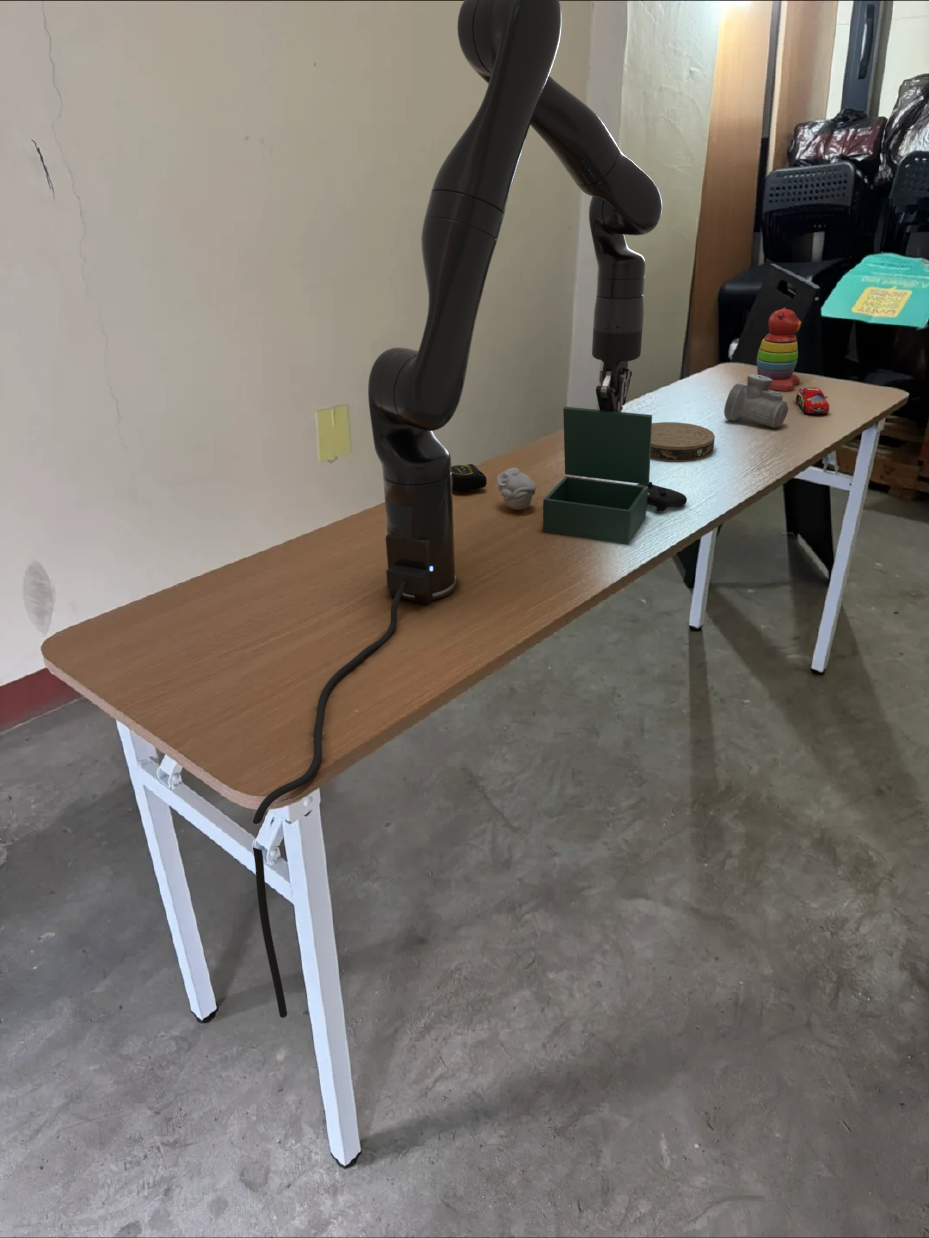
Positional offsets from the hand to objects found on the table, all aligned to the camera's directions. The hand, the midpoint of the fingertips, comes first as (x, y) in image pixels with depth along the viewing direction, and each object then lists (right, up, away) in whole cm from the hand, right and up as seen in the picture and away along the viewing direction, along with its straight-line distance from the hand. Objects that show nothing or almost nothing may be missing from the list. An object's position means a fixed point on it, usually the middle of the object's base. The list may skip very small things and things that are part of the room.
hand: (611, 435), depth 141 cm
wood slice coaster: (+18, +4, +32) cm, 37 cm away
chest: (-3, -15, +1) cm, 15 cm away
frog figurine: (-15, -11, +8) cm, 20 cm away
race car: (+54, +17, +54) cm, 78 cm away
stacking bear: (+53, +28, +72) cm, 93 cm away
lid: (-1, -2, -2) cm, 3 cm away
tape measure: (-23, -6, +17) cm, 29 cm away
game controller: (+9, -10, +7) cm, 15 cm away
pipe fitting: (+39, +12, +45) cm, 60 cm away
